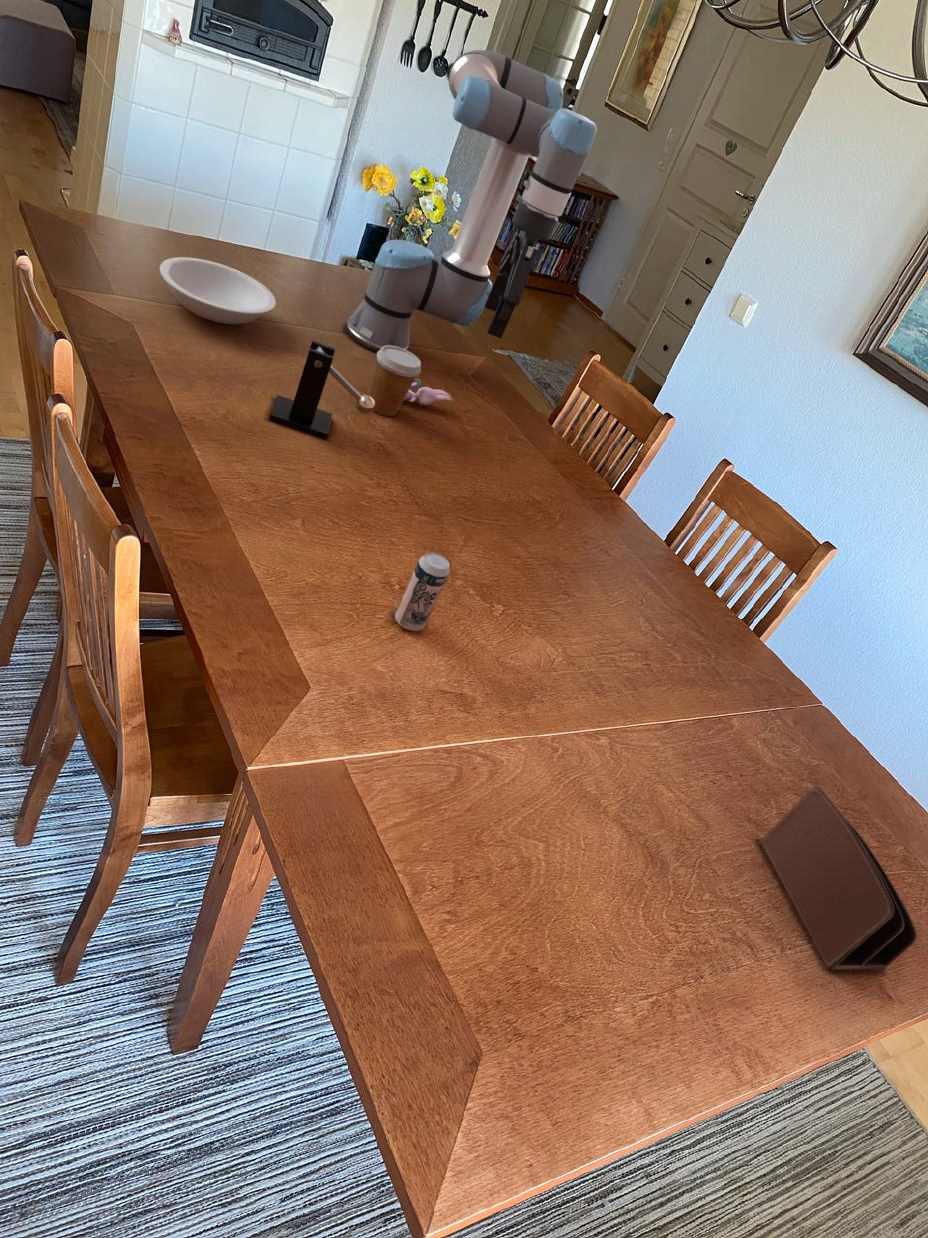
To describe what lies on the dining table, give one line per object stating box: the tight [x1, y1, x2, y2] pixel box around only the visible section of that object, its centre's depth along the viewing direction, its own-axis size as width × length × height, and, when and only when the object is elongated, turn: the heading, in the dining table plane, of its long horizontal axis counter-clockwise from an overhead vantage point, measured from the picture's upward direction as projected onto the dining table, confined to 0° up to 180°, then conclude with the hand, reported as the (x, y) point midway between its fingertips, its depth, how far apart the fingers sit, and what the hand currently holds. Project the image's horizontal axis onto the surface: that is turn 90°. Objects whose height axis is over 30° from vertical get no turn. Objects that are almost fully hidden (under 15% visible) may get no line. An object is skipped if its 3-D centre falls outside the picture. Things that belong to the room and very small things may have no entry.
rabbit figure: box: [403, 378, 454, 406], centre depth 200 cm, size 6×6×15 cm
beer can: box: [394, 552, 451, 632], centre depth 137 cm, size 5×5×12 cm
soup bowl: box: [159, 256, 277, 325], centre depth 195 cm, size 24×24×7 cm
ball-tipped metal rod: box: [316, 346, 375, 415], centre depth 172 cm, size 15×4×4 cm, turn 92°
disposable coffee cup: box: [369, 345, 422, 417], centre depth 190 cm, size 10×10×12 cm
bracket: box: [268, 339, 336, 440], centre depth 172 cm, size 11×9×15 cm
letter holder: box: [759, 786, 918, 971], centre depth 123 cm, size 10×20×14 cm, turn 14°
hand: (492, 321), depth 172 cm, fingers open, 13 cm apart
